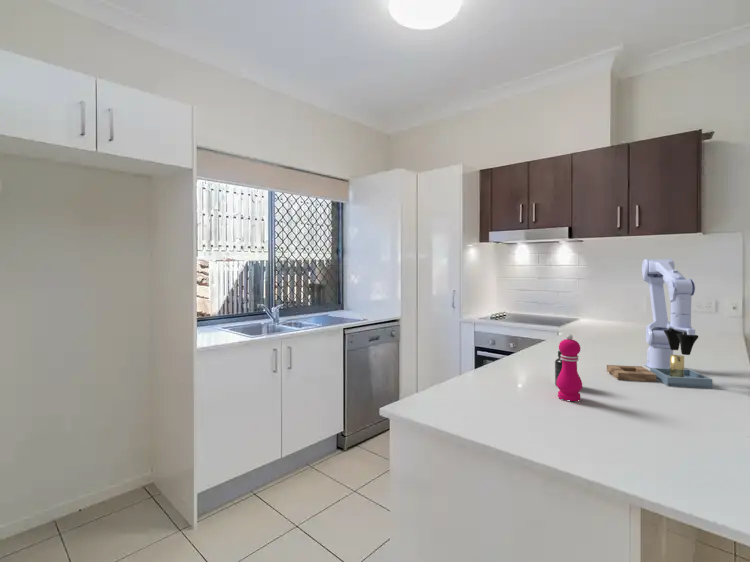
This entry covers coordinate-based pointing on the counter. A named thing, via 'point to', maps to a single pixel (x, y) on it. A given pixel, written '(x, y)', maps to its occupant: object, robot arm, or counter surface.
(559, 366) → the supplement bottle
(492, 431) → the counter surface
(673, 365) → the brass peg
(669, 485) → the counter surface
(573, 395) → the pepper mill
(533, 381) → the counter surface
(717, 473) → the counter surface
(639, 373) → the walnut socket block
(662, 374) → the slate-blue tray
